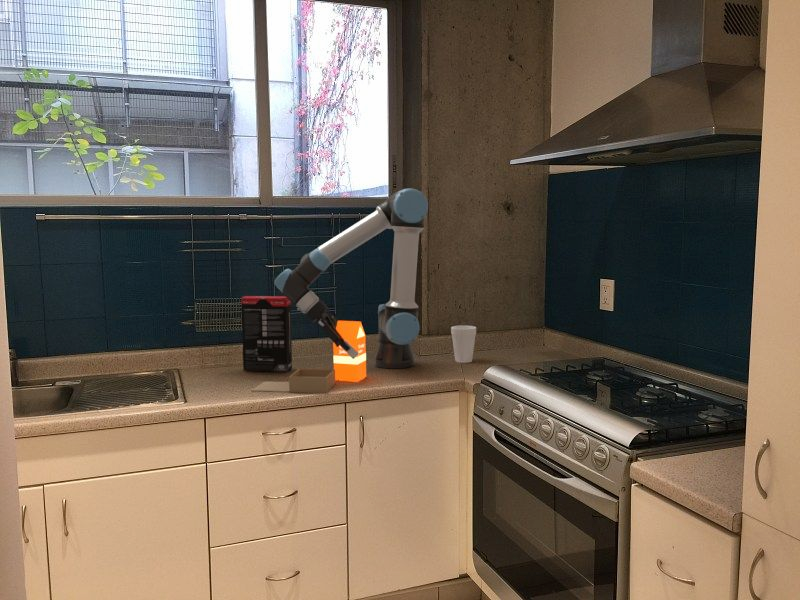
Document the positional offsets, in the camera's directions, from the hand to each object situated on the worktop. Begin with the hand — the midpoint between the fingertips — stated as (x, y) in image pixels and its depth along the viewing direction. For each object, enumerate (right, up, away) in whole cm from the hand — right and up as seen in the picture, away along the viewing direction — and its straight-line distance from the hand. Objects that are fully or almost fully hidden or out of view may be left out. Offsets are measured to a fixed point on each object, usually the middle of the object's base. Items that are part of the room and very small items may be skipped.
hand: (359, 353), depth 236 cm
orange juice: (-3, -9, +1) cm, 10 cm away
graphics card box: (-34, -8, +16) cm, 38 cm away
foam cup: (+38, -5, +28) cm, 48 cm away
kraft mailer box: (-20, -10, -10) cm, 25 cm away
